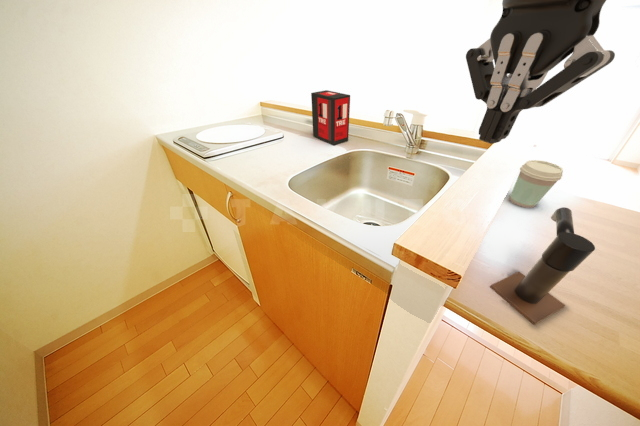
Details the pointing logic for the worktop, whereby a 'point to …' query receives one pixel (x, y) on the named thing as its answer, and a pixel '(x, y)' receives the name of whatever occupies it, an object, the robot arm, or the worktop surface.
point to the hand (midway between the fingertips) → (489, 141)
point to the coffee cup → (534, 182)
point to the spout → (566, 244)
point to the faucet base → (532, 291)
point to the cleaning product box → (330, 116)
